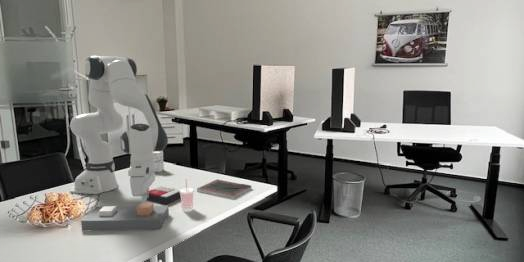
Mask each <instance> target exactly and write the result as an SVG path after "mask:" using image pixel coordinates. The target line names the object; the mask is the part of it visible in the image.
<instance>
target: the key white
mask: <svg viewBox="0 0 524 262" xmlns="http://www.w3.org/2000/svg"><path fill="white" fill-rule="evenodd" d="M116 206H117V205H112V206H111V205H106V206H105V205H104V206H101V207H102V208H101V209H100V210H99V216H113V215H114V214H115V213H116Z"/></svg>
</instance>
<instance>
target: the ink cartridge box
mask: <svg viewBox="0 0 524 262" xmlns="http://www.w3.org/2000/svg"><path fill="white" fill-rule="evenodd" d="M163 150H164V149H163ZM163 150H162V151H156V152H153V155H154V162H155V169H154V171H155V172H157V173H161V172H163V171H164V169H165V167H164V165H165V164H164V151H163Z"/></svg>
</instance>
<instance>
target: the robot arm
mask: <svg viewBox="0 0 524 262" xmlns="http://www.w3.org/2000/svg"><path fill="white" fill-rule="evenodd" d="M137 66H138V65H137V63H136V61H135V60H134V59H132V58H130V57H120V56H114V55H109V56H107V55H106V56H105V55H101V56H100V55H90V56H88V57H87V58H86V60H85V62H84V71H85V72H84V73H85V75H86V77H87V78H88V79H90V80H89V88H88V97H87V98H88V99H87V100H88V102H89V105H91V106H93V107H94V108H96V112H89V113H88V112H87V113H82V114H79V115H76V116H73V117H72V118H71V121H70V124H69V127H70V128H69V129H70V130H71V132H72V134H74V135H75V136H76V137H77V138H79V139H81V140H82V142H83V143H84V144H85V147H86V149H87V154H88V161H87V162H86V163H85V164H84V165H83V167H84V168H85V169H84V170H83V171H82V172H81V173H79V175H77V176H76V178H75V180H74V185H72V186H71V188H70V189H69V192H70V193H71V194H72V193H73V194H90V195H98V194H102V193H105V192H111V191H113V190H116V189H117V188H118V187H119V184H118V181H117V178H116V174H115V168H116V167H115V160H114V159H113V158H114V157H113V148H112V145H111V144H110V143H109V142H108V141H105V140H103V139H102V137H101V135H103V134H109V133H114V132H116V131H118V130H121V128H122V127H123V125H124V118H123V116H122V114H121V113H120V112H119V111H117V110H116V107H115V105H114V101H115V102H116V103H118V104H119V105H121V106H124V107H129V108H133V109H135V110H139V111H140V112H141V113H142V114H143V115H144V117H145V120H146V122H147V124H145V123H135V124H132V125H130V126H129V130H127V131H125V132H123V133H122V134H121V135H120V137H119V139H120V146H121V147H120V148H121V151H123V152H124V153H126V154H127V155H130V166H129V169H128V171H127V175H128V177H130V178H129V183H130V190H131V195H132V196H133V197H141V200H142V201H148V200H147V199H148V197H149V195H148V193H149V191H150V187H151V186H152V184H153V183H154V182H155V180H156V173H155V171H154V169H155V162H154V155H153V152H156V151H162V150H164V149H165V148H166V147H167V145H168V143H169V139H168V135H167V132H166V131H165V129H164V128H163V126H162V123H161V121H160V118H159V117H158V115H157V112H156V110H155V108H154V106H153V103H152V101H151V99H150V97H149V96H148V94H146V93H144V92H143V91H142V90H141V89H140V88H139V86H138V83H137V80H136V79H137V78H136V76H137V72H138V69H137V68H138V67H137Z"/></svg>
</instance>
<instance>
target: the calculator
mask: <svg viewBox="0 0 524 262" xmlns="http://www.w3.org/2000/svg"><path fill="white" fill-rule="evenodd" d="M179 190H180V189H177V188H173V187H166V186H157V187H155V188H153V189H149V193H148V195H149V197H148V199H147V200H146V201H150V202H154V203H159V204H161V205H164V206H169V205H170V204H172V203H175V202H177V201H179V200H181V196H180V191H179Z"/></svg>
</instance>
